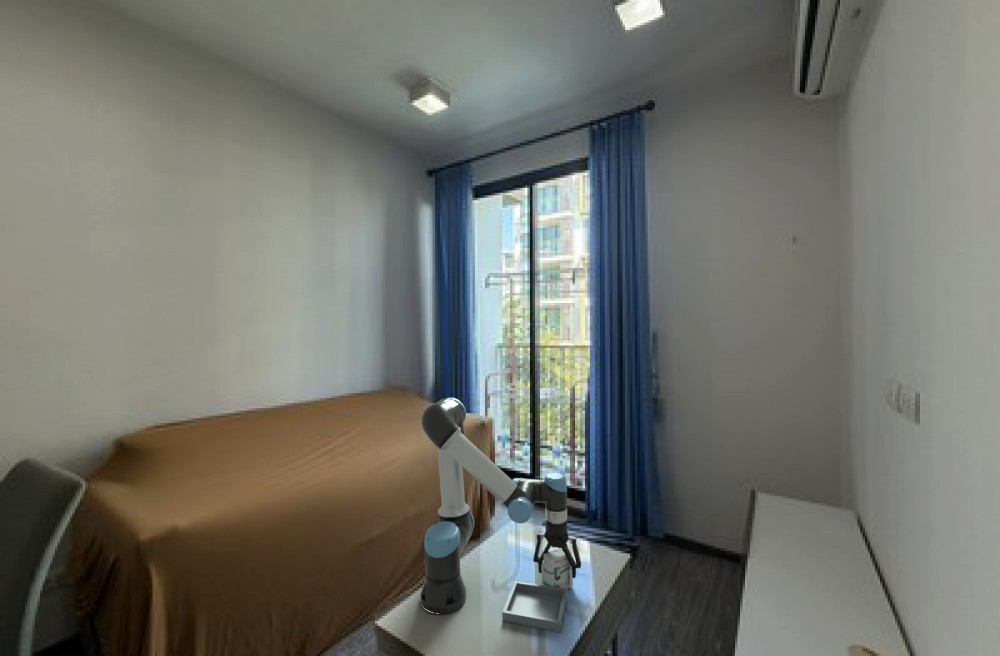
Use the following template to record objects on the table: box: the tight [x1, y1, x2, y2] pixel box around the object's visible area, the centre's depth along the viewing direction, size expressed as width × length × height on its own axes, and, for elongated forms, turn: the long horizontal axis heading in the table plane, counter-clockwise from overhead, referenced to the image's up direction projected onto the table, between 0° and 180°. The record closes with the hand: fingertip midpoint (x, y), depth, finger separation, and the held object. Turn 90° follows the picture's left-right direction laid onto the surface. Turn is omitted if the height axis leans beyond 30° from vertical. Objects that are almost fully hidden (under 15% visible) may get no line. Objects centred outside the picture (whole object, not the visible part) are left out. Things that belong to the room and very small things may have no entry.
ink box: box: [543, 548, 571, 589], centre depth 142 cm, size 9×5×12 cm, turn 119°
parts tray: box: [501, 580, 568, 634], centre depth 131 cm, size 18×16×3 cm
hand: (557, 583), depth 142 cm, fingers closed on ink box, 9 cm apart
